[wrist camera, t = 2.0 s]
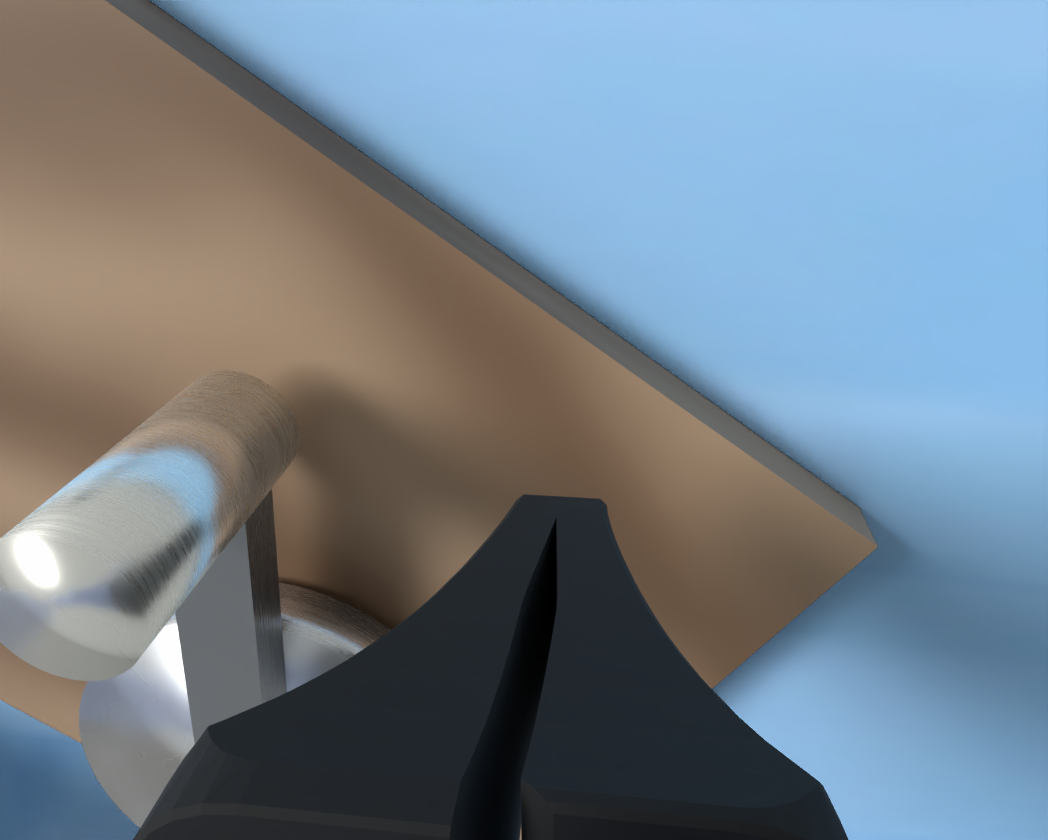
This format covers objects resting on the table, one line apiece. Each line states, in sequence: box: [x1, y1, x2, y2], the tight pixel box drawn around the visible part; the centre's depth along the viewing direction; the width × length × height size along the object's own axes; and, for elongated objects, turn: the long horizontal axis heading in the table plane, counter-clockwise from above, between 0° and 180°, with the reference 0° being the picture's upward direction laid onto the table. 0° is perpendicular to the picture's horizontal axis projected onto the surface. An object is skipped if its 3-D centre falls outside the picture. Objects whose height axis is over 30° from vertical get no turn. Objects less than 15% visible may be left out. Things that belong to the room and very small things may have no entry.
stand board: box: [0, 0, 878, 840], centre depth 19 cm, size 18×20×2 cm
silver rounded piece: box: [0, 370, 391, 828], centre depth 16 cm, size 15×9×6 cm, turn 175°
